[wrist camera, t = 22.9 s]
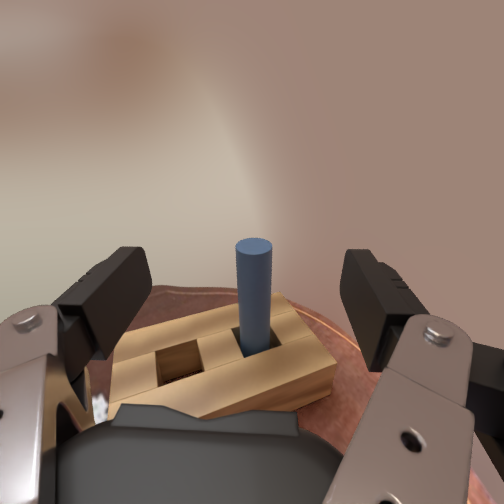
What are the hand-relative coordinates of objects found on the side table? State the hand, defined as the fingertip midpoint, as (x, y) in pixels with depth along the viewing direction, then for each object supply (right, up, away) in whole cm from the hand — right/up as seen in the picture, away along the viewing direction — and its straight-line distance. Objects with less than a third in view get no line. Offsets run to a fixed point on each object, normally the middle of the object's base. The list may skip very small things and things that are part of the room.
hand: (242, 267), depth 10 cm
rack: (-3, -14, +18) cm, 23 cm away
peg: (+1, -13, +20) cm, 23 cm away
